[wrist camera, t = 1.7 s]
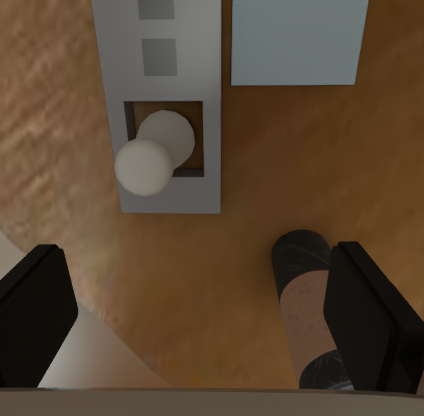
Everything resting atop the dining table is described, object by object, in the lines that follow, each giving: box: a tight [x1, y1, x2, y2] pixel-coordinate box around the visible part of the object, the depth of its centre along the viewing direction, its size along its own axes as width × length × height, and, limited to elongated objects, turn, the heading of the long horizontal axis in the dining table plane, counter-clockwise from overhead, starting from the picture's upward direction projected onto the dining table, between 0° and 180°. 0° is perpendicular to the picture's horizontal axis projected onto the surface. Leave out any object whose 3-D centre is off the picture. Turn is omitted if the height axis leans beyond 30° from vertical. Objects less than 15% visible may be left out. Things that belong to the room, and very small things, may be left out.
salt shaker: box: [114, 110, 195, 196], centre depth 28 cm, size 6×6×13 cm
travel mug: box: [272, 230, 354, 390], centre depth 30 cm, size 8×8×20 cm
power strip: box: [91, 0, 222, 214], centre depth 30 cm, size 26×11×4 cm, turn 0°
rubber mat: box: [231, 0, 369, 85], centre depth 29 cm, size 12×12×1 cm
